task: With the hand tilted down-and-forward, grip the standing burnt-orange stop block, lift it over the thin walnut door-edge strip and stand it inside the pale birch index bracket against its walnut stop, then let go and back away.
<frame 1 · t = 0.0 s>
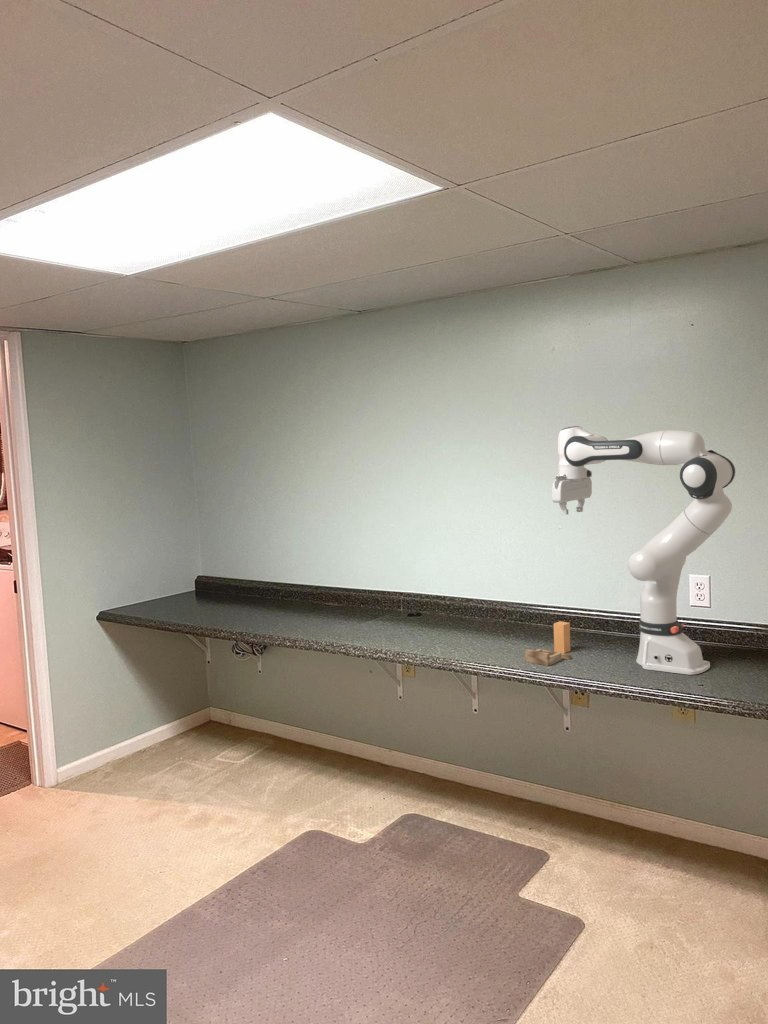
hand: (572, 513, 270), 48 cm above the table, fingers open, 8 cm apart
stop block: (562, 651, 271), on the table
door edge strip: (554, 656, 265), on the table
index bracket: (543, 660, 261), on the table
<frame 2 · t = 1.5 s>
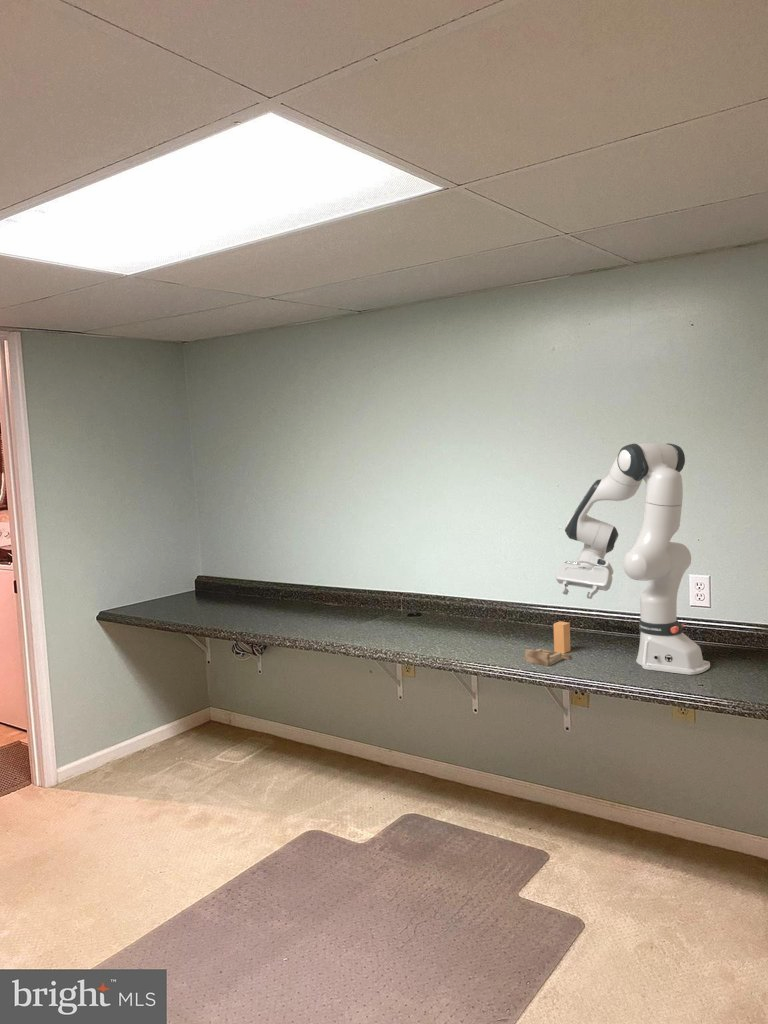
hand: (576, 595, 278), 17 cm above the table, fingers open, 8 cm apart
nothing on the table moved.
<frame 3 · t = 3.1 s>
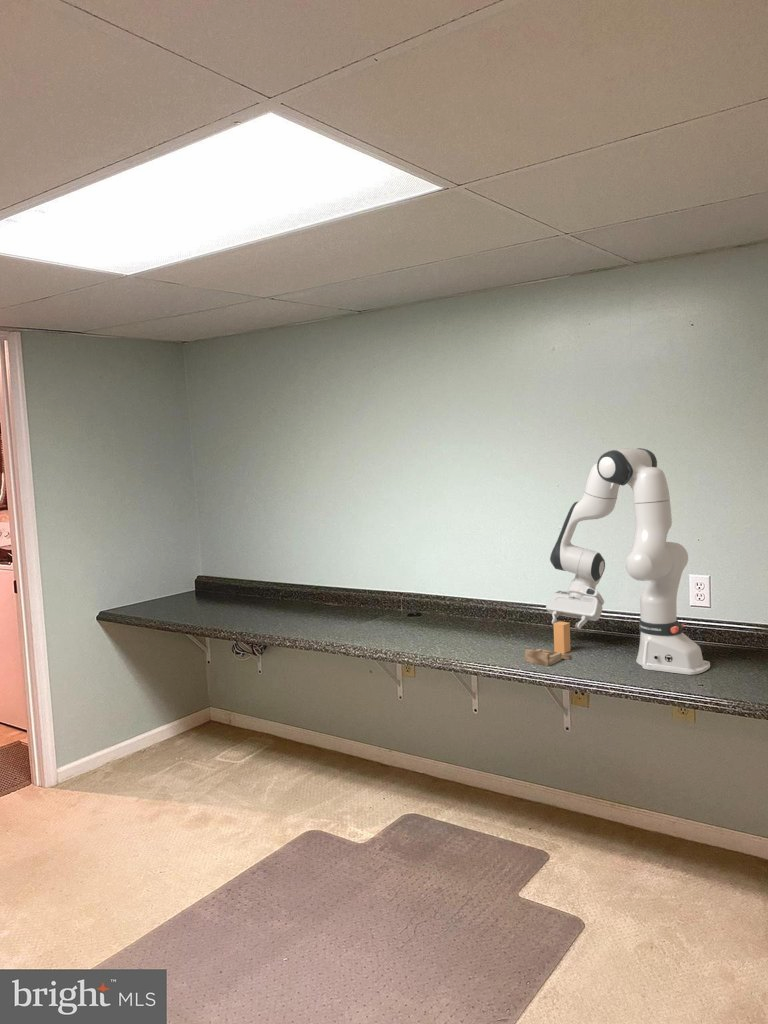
hand: (565, 626, 272), 8 cm above the table, fingers open, 8 cm apart
nothing on the table moved.
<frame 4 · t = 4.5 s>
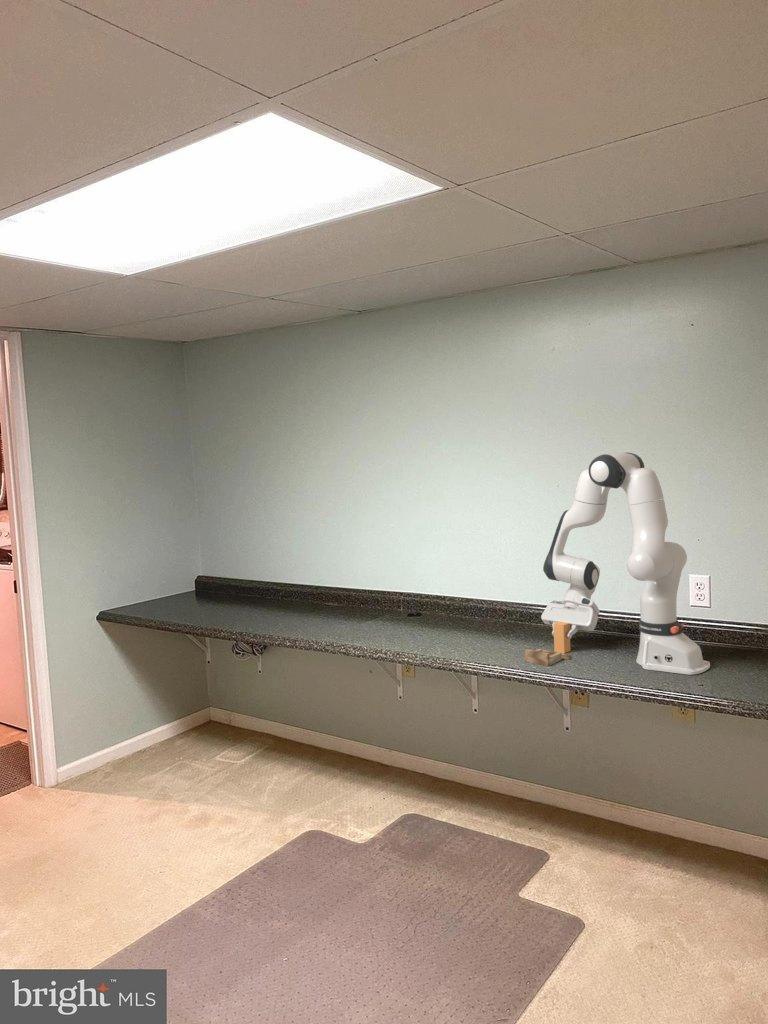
hand: (560, 636, 270), 5 cm above the table, fingers closed on stop block, 4 cm apart
stop block: (562, 651, 271), on the table, touching gripper
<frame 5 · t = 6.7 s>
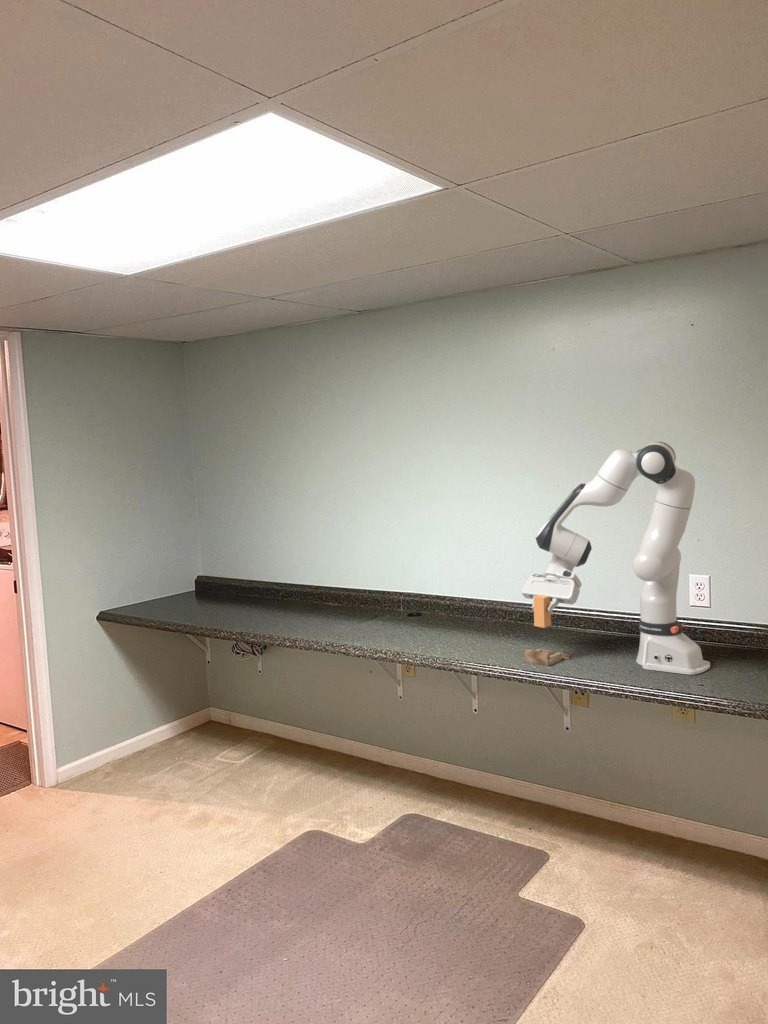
hand: (541, 610, 259), 17 cm above the table, fingers closed on stop block, 4 cm apart
stop block: (542, 625, 260), point 12 cm above the table, touching gripper
when the fingers open (6 cm above the table, at t = 9.1 s): stop block drops 1 cm, resting in index bracket.
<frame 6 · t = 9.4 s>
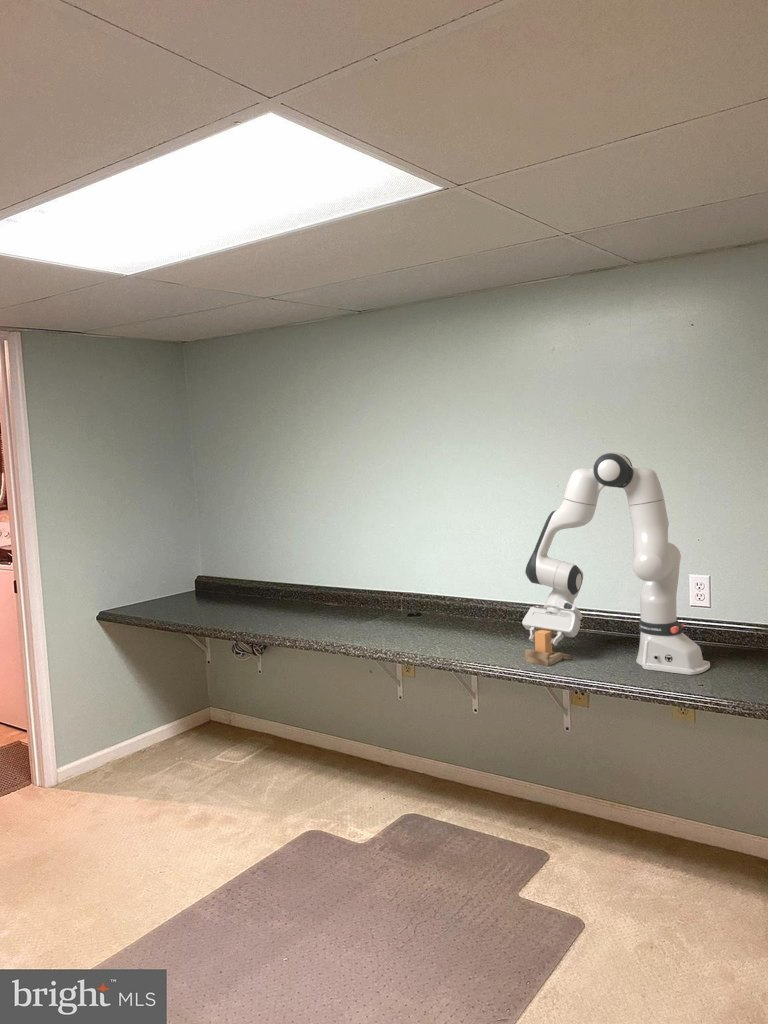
hand: (542, 642, 260), 6 cm above the table, fingers open, 7 cm apart
stop block: (544, 660, 261), resting in index bracket
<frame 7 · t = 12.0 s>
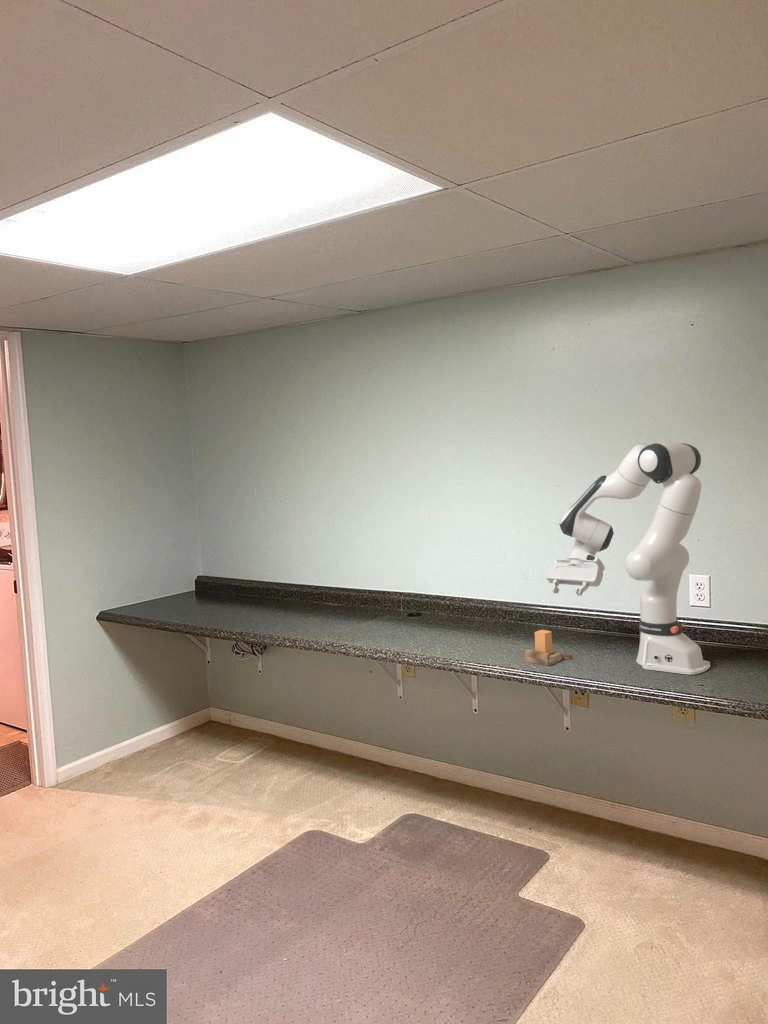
hand: (566, 593, 269), 20 cm above the table, fingers open, 8 cm apart
nothing on the table moved.
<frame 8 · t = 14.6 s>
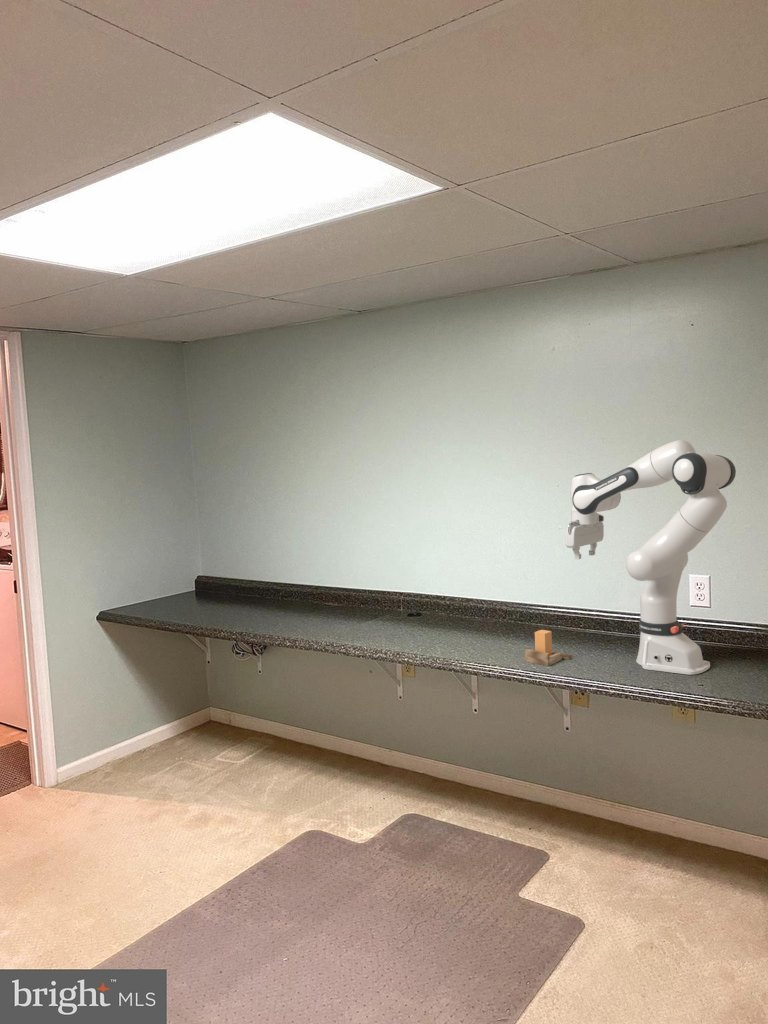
hand: (585, 557, 277), 31 cm above the table, fingers open, 8 cm apart
nothing on the table moved.
at the end: stop block 0.1 cm from the index bracket (horizontally); stop block tilted 0°; stop block resting in index bracket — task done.
